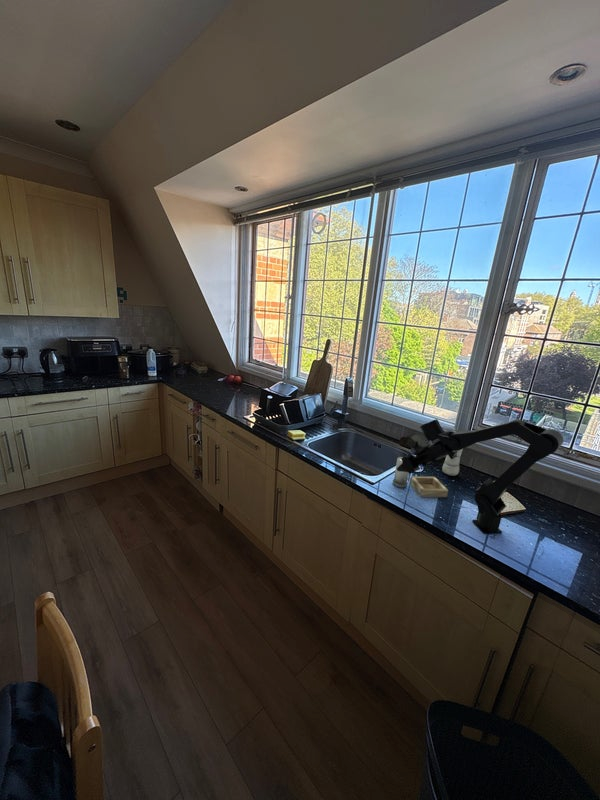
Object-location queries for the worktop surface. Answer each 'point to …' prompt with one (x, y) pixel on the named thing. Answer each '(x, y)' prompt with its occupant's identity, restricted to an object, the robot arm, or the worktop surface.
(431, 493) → the square wooden tray
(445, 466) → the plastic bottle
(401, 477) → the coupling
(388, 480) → the worktop surface
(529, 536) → the worktop surface
